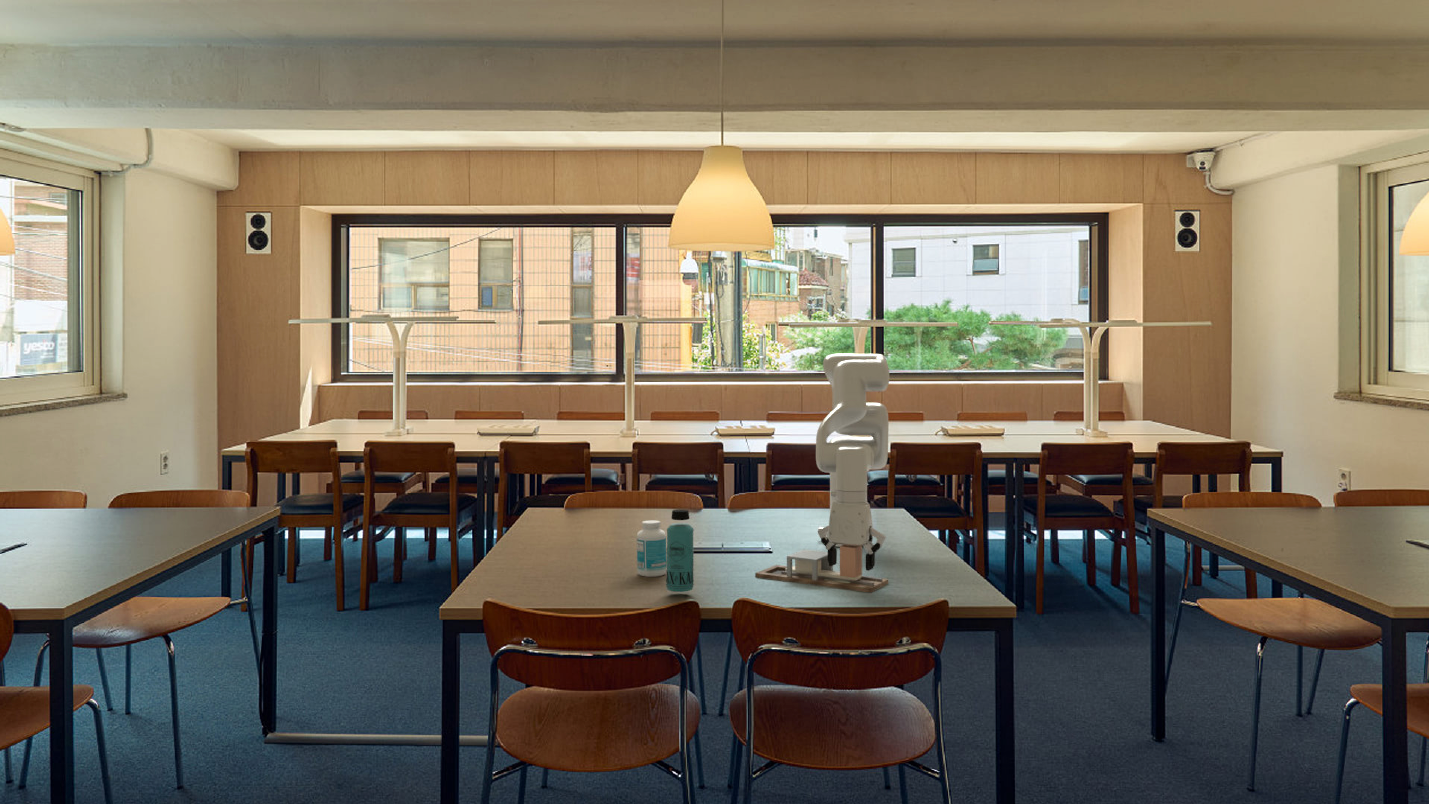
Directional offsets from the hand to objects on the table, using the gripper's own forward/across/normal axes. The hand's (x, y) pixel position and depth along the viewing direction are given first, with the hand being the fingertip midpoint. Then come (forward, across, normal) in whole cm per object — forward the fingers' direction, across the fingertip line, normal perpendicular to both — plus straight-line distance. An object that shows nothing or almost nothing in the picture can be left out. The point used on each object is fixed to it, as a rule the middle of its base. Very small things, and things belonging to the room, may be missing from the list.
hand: (850, 567), depth 238 cm
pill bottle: (+4, -48, -16) cm, 50 cm away
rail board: (+4, -8, 0) cm, 9 cm away
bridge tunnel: (+3, -11, 0) cm, 12 cm away
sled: (+3, -8, 0) cm, 8 cm away
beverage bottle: (+4, -30, -30) cm, 43 cm away
